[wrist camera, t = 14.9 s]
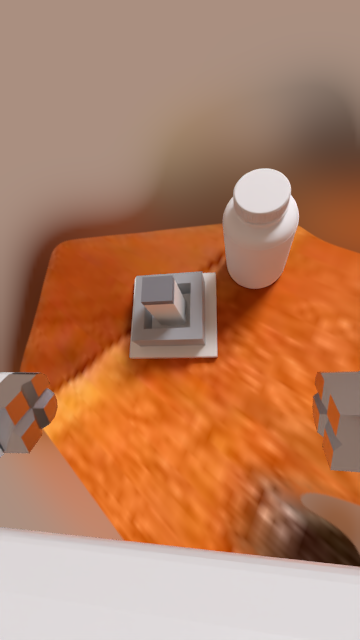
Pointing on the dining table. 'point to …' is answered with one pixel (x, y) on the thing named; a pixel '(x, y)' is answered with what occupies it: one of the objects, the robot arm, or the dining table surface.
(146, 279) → the plug
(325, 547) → the dining table surface
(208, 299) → the socket
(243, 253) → the pill bottle
